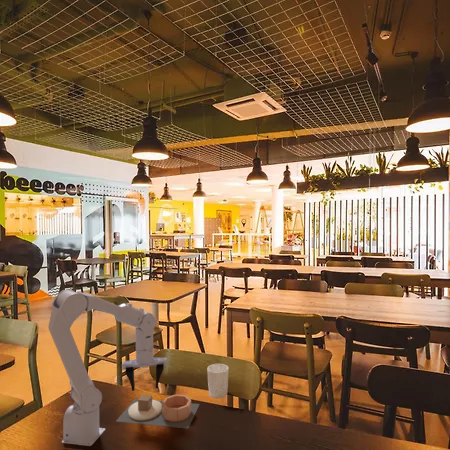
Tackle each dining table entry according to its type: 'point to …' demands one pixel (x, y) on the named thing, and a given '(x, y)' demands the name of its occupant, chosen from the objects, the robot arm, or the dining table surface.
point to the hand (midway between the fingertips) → (145, 388)
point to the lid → (145, 408)
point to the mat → (159, 418)
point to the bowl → (176, 408)
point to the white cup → (217, 380)
